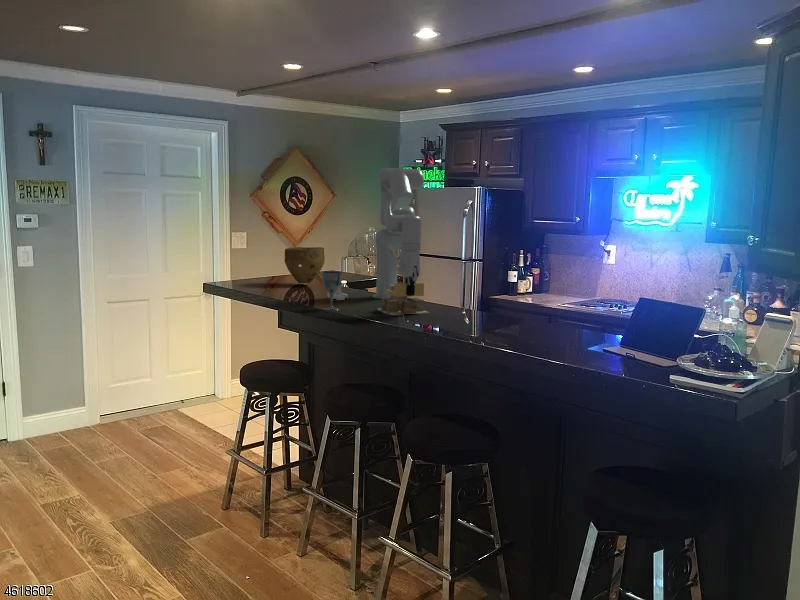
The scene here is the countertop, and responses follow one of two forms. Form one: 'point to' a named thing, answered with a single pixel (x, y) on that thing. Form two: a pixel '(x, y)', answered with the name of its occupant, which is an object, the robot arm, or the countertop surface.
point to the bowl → (304, 262)
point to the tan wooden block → (405, 289)
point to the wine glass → (331, 285)
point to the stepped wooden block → (402, 305)
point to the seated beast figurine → (338, 295)
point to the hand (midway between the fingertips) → (409, 294)
